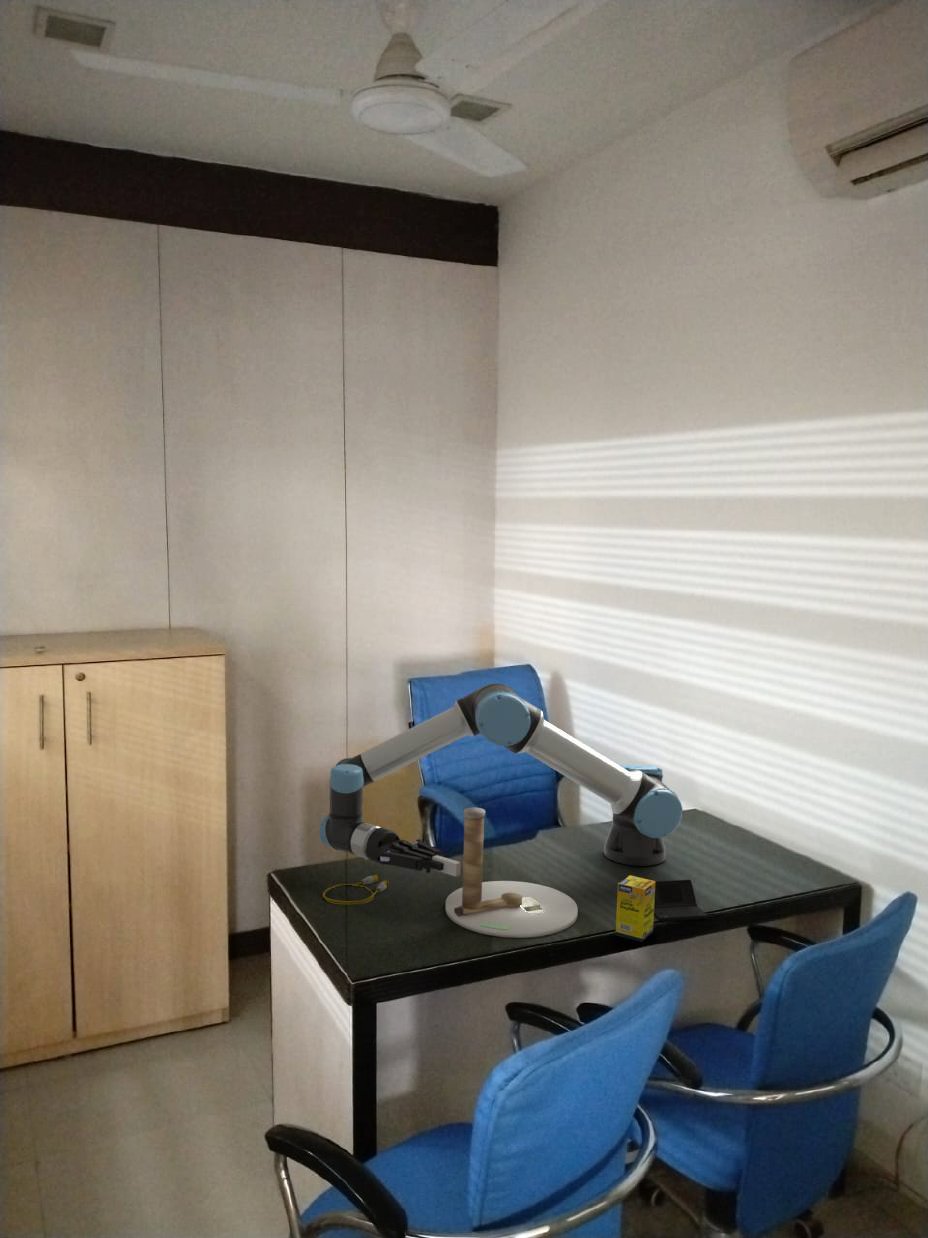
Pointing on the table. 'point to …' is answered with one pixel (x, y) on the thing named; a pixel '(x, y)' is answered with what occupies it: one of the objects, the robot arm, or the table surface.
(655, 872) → the table surface
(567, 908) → the dial plate
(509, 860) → the table surface
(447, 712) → the robot arm
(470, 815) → the lever
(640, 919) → the supplement box
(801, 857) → the table surface
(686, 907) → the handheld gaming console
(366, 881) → the extension cord
